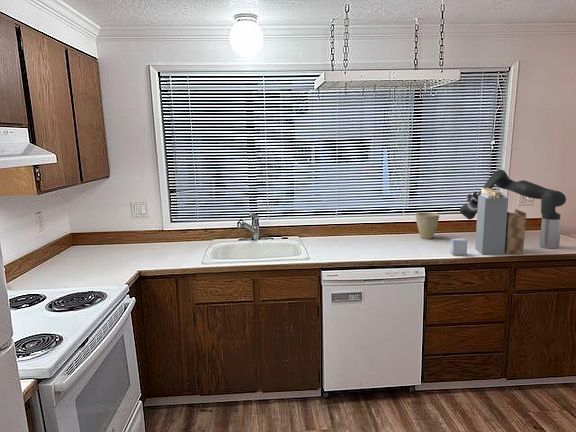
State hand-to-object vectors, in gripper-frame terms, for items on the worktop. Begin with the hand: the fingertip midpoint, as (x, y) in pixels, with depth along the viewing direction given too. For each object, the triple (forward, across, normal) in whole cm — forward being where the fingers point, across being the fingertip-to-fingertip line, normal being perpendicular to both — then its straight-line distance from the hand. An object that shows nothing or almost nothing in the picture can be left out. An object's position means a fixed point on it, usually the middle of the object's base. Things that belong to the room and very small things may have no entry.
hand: (483, 192), depth 258 cm
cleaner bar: (+11, 0, +7) cm, 13 cm away
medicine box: (+2, -19, +39) cm, 43 cm away
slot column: (-3, 0, +36) cm, 36 cm away
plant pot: (-33, -28, +18) cm, 47 cm away
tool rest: (-4, +12, +35) cm, 37 cm away
